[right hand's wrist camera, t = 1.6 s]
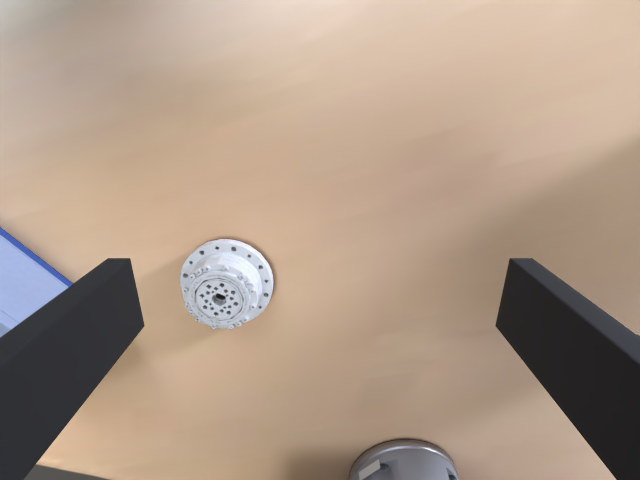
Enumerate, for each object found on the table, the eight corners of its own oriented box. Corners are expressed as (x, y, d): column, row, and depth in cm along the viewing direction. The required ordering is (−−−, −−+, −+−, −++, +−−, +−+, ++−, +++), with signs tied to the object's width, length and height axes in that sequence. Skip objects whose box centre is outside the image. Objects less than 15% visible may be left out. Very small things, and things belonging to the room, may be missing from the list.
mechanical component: (241, 221, 37) (165, 263, 39) (231, 236, 33) (147, 283, 35) (290, 294, 40) (218, 330, 42) (287, 316, 36) (207, 355, 38)
